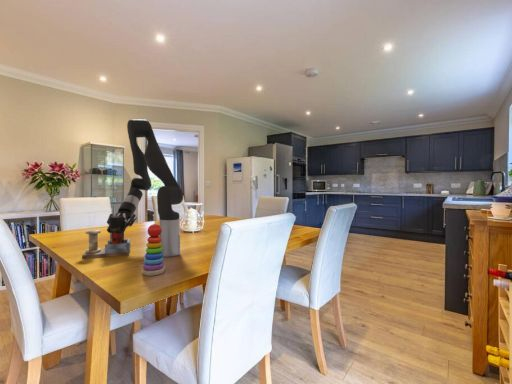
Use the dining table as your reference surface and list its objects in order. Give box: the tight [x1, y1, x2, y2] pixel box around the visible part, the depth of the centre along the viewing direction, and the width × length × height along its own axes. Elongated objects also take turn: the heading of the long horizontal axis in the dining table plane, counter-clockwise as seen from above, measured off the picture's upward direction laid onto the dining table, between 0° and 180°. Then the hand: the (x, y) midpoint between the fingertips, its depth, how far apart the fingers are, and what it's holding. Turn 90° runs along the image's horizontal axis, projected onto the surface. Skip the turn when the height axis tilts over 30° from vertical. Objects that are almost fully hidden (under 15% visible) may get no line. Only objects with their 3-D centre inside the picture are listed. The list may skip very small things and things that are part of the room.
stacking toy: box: [141, 223, 165, 277], centre depth 98 cm, size 8×8×19 cm
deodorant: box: [109, 216, 125, 244], centre depth 126 cm, size 6×6×15 cm
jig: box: [81, 229, 131, 260], centre depth 124 cm, size 19×11×12 cm, turn 114°
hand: (114, 232), depth 124 cm, fingers closed on deodorant, 6 cm apart
